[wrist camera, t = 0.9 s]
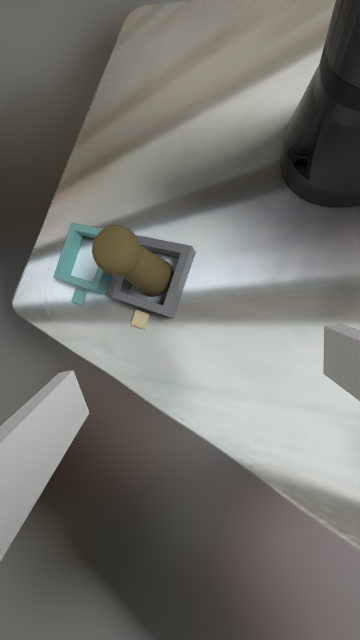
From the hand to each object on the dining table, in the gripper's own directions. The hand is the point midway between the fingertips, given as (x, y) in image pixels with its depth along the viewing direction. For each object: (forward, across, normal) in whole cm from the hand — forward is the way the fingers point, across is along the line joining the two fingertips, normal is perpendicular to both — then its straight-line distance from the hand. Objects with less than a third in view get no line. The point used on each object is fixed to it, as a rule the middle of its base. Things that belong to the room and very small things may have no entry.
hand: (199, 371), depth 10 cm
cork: (+22, -4, +4) cm, 22 cm away
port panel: (+24, -10, +5) cm, 26 cm away
